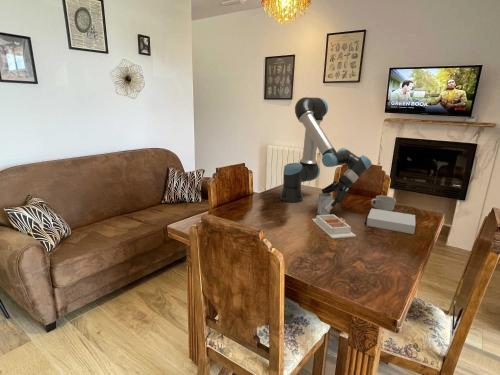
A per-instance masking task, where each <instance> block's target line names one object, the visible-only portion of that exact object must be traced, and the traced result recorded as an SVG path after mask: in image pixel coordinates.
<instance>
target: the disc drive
mask: <svg viewBox="0 0 500 375" xmlns="http://www.w3.org/2000/svg"><path fill="white" fill-rule="evenodd" d="M364 226H365V227H372V228H376V229H382V230H388V231H394V232H399V233H406V234H409V235H410V234H411V235H414V234H415V231H416V215H415V214H410V213H403V212H399V211H398V212H397V211H393V210H392V211H385V210H379V209H377V208H372V207H369V210H368V212H367V214H366V216H365V222H364Z"/></svg>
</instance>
